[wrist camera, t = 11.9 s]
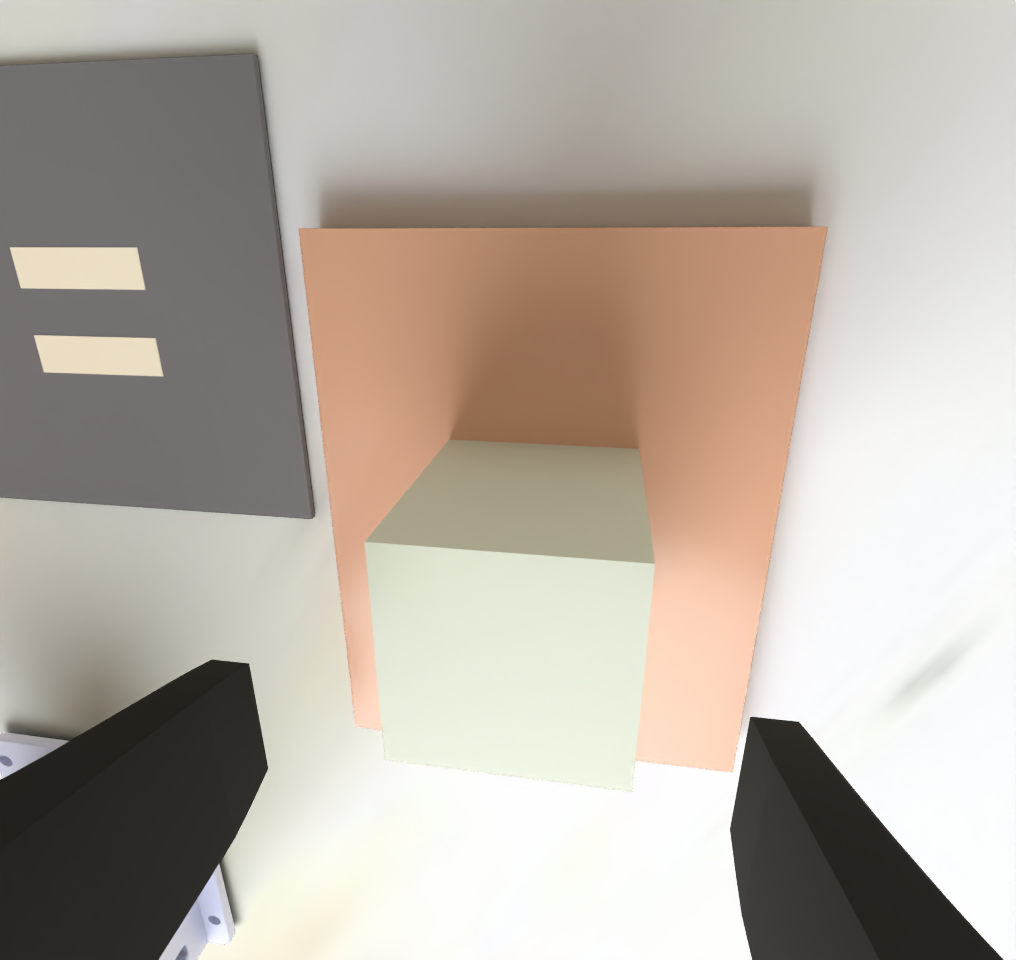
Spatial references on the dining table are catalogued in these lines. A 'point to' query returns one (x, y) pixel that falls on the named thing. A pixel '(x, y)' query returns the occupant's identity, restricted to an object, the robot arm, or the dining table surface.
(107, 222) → the mat
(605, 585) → the sage block
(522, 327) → the plate
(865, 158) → the dining table surface
